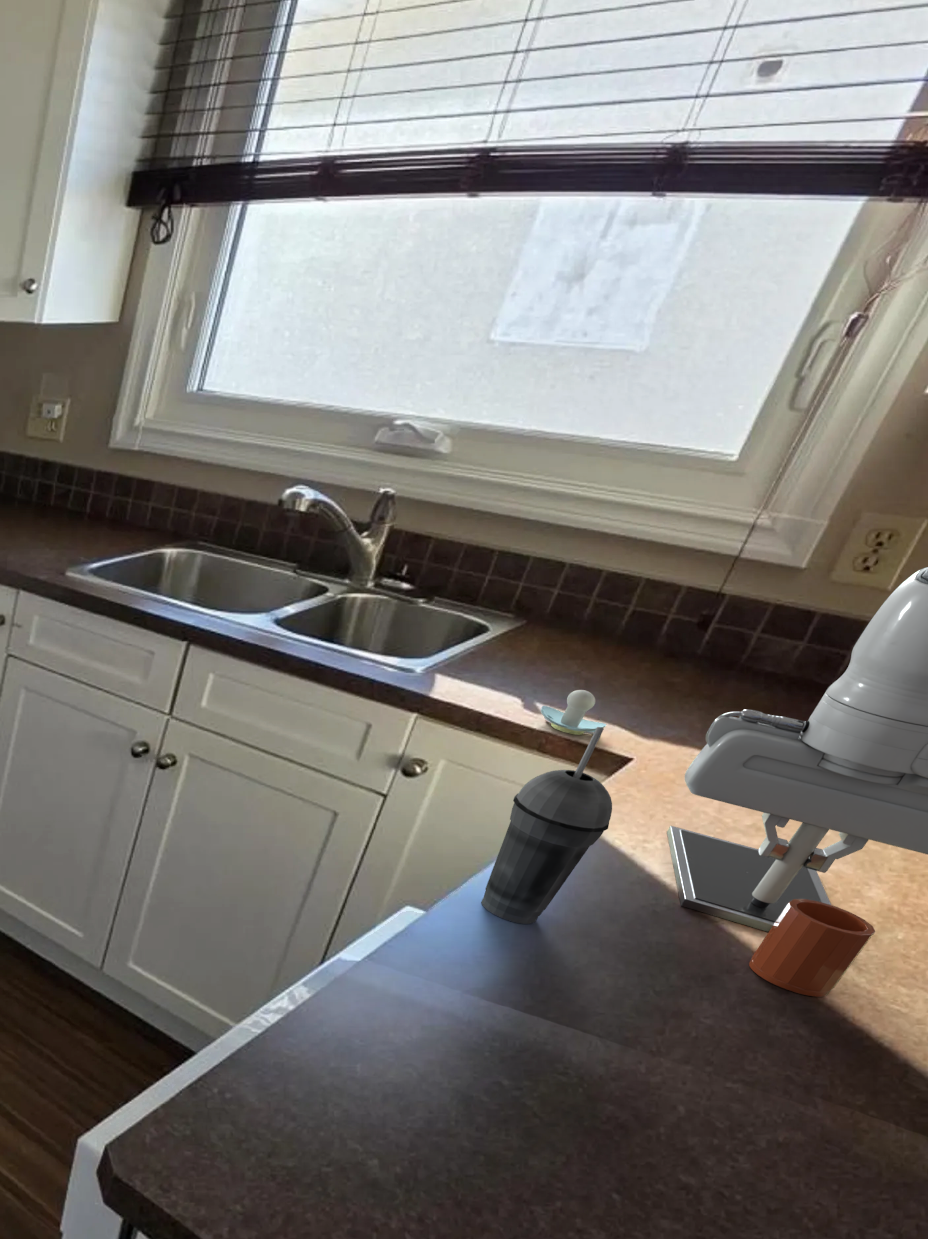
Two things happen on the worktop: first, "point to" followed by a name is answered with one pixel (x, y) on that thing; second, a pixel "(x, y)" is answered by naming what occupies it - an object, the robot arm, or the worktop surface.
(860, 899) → the worktop surface
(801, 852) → the stylus
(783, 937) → the pen pot
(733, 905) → the tablet
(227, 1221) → the worktop surface
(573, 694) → the pacifier
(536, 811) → the beverage cup
